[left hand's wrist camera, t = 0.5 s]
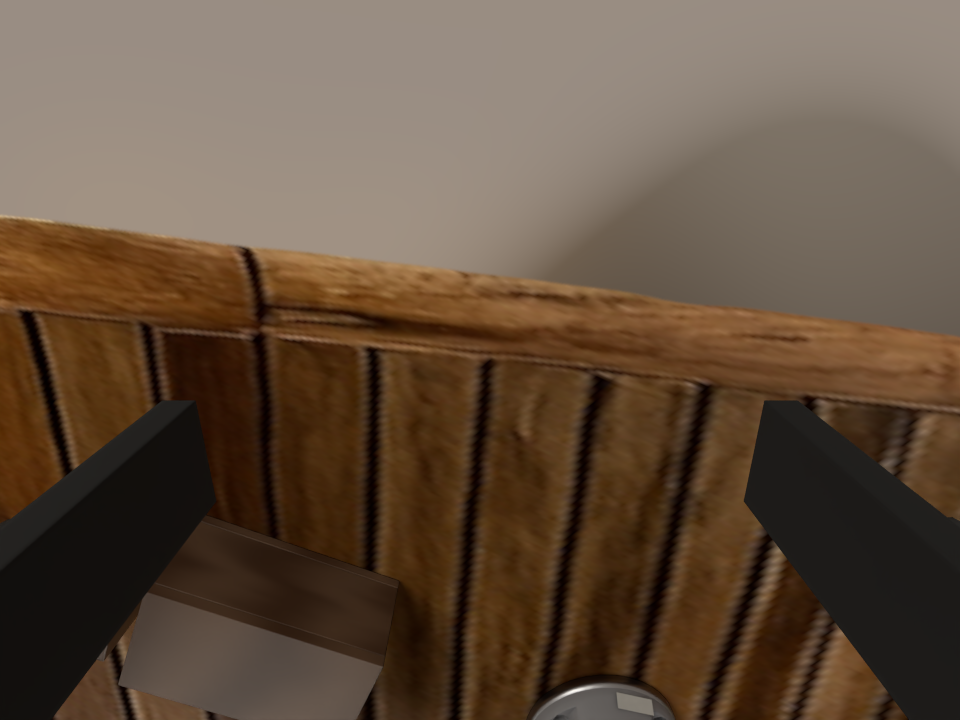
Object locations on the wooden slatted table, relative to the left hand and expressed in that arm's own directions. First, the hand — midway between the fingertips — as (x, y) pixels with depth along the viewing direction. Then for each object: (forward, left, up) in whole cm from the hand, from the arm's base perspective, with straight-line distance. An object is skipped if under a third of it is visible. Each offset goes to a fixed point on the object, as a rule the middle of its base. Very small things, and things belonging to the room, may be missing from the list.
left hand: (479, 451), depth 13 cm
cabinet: (-31, +17, -28) cm, 45 cm away
